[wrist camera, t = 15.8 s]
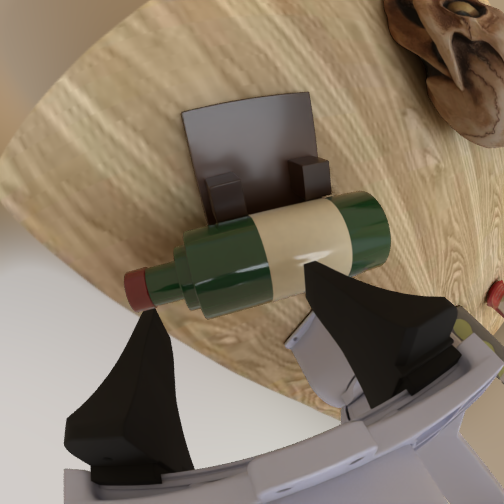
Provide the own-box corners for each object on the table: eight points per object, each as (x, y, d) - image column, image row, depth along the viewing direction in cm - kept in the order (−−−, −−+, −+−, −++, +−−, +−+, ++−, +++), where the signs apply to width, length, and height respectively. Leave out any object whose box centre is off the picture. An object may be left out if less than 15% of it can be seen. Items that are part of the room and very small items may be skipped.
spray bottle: (463, 304, 40) (529, 366, 23) (451, 324, 42) (512, 388, 25) (453, 304, 39) (524, 373, 22) (440, 327, 40) (506, 396, 23)
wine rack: (321, 271, 26) (339, 292, 23) (228, 301, 24) (237, 327, 21) (303, 92, 18) (326, 89, 15) (180, 112, 16) (181, 110, 13)
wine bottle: (346, 180, 19) (395, 207, 14) (346, 245, 22) (386, 282, 17) (122, 234, 17) (105, 282, 12) (149, 298, 20) (146, 354, 15)
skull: (388, -43, 11) (496, -54, 1) (466, 55, 20) (551, 77, 9) (341, 50, 17) (494, 56, 6) (436, 144, 25) (530, 188, 15)
